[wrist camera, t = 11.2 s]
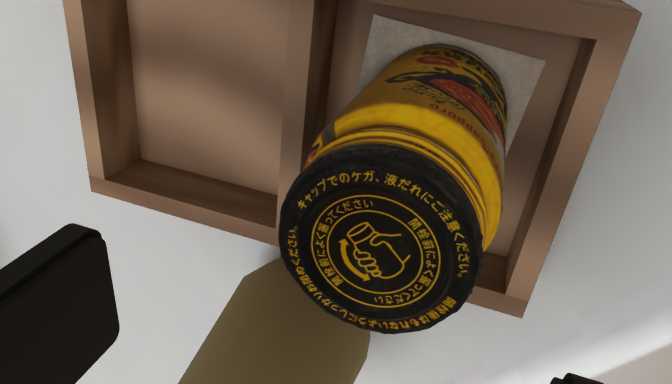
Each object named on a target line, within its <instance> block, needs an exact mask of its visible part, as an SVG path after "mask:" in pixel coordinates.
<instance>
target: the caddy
mask: <svg viewBox="0 0 672 384" xmlns="http://www.w3.org/2000/svg"><path fill="white" fill-rule="evenodd" d="M63 6H64V12H65V19H66V26H67V32H68V39H69V46H70V52H71V59H72V66H73V72H74V79H75V86H76V92H77V99H78V106H79V112H80V119H81V126H82V132H83V139H84V146H85V152H86V159H87V166H88V172H89V179H90V186H91V191H92V192H95V193H99V194H102V195H105V196H109V197H112V198H116V199H119V200H122V201H126V202H129V203H132V204H136V205H139V206H143V207H146V208H149V209H153V210H156V211H160V212H163V213H166V214H170V215H173V216H177V217H180V218H183V219H187V220H190V221H193V222H197V223H200V224H204V225H207V226H210V227H214V228H217V229H221V230H224V231H227V232H231V233H234V234H238V235H241V236H244V237H248V238H251V239H255V240H258V241H261V242H265V243H268V244H271V245H275V246H278V247H280V246H279V242H278V231H279V223H280V211H281V207H282V204H283V202H284V200H285V198H286V194H287V192H288V191H289V189H290V187H291V185H292V183H293V182H294V180H295V179H296V178H297V176H298V175H299V174H300V173H301V172H302V171H304V166H305V163H306V160H307V158H308V155H309V153H310V150H311V147H312V145H313V144H314V142H315V141H316V140H317V136H318V135H319V134H320V133H321V132H322V131H323V130H324V129H325V128H326V127H327V126H328V125H329V124H330V123H331V122H332V121H333V120H334V119H335V118H336V117H337V116H338V115H339V114H340V113H341V112H342V110H344V108H345V107H346V106H348V105H349V104H350V102H351V101H352V100H353V99H354V98H355V95H356V90H357V87H358V82H359V78H360V74H361V69H362V64H363V60H364V56H365V52H366V47H367V42H368V38H369V33H370V29H371V24H372V20H373V15H374V14H375V15H378V16H382V17H386V18H389V19H393V20H397V21H400V22H404V23H407V24H412V25H416V26H420V27H424V28H428V29H431V30H435V31H438V32H442V33H446V34H450V35H453V36H457V37H461V38H465V39H469V40H472V41H476V42H479V43H483V44H487V45H490V46H494V47H497V48H501V49H504V50H508V51H512V52H516V53H518V54H522V55H526V56H529V57H533V58H537V59H540V60H544V61H546V63H545V65H544V67H543V70H542V72H541V74H540V77H539V79H538V81H537V84H536V86H535V88H534V91H533V93H532V96H531V98H530V100H529V103H528V105H527V107H526V110H525V112H524V115H523V117H522V119H521V122H520V124H519V127H518V129H517V131H516V134H515V136H514V138H513V141H512V143H511V146H510V148H509V151H508V153H507V155H506V158H505V169H504V191H503V197H502V198H503V205H502V206H503V211H502V215H501V218H500V223H499V226H498V228H497V231H496V234H495V236H494V238H493V240H492V242H491V244H490V245H489V246H488V248H487V249H486V250H485V251H484V259H483V260H482V265H483V268H482V270H481V273H480V276H479V277H478V278H477V280H476V285H475V287H474V288H473V292H472V294H470V295H469V297H468V299H467V300H466V301H465V302H468V303H471V304H475V305H478V306H482V307H485V308H488V309H492V310H495V311H499V312H502V313H505V314H509V315H512V316H515V317H519V318H522V317H523V314H524V312H525V309H526V307H527V304H528V302H529V299H530V297H531V294H532V292H533V289H534V286H535V284H536V281H537V279H538V276H539V274H540V271H541V269H542V266H543V264H544V261H545V259H546V256H547V254H548V251H549V248H550V246H551V243H552V241H553V238H554V236H555V233H556V231H557V228H558V226H559V223H560V221H561V218H562V215H563V213H564V210H565V208H566V205H567V203H568V200H569V198H570V195H571V193H572V190H573V188H574V185H575V183H576V180H577V177H578V175H579V172H580V170H581V167H582V165H583V162H584V160H585V157H586V155H587V152H588V150H589V147H590V144H591V142H592V139H593V137H594V134H595V132H596V129H597V127H598V124H599V122H600V119H601V117H602V114H603V111H604V109H605V106H606V104H607V101H608V99H609V96H610V94H611V91H612V89H613V86H614V84H615V81H616V79H617V76H618V73H619V71H620V68H621V66H622V63H623V61H624V58H625V56H626V53H627V51H628V48H629V46H630V43H631V40H632V38H633V35H634V33H635V30H636V28H637V25H638V23H639V20H640V18H641V15H642V13H641V12H639V11H638V10H636V9H635V8H633V7H631V6H630V5H628V4H626V3H625V2H623V1H621V0H63Z"/></svg>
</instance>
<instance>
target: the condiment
mask: <svg viewBox="0 0 672 384" xmlns="http://www.w3.org/2000/svg"><path fill="white" fill-rule="evenodd" d="M545 63H546V61H544V60H540V59H537V58H533V57H529V56H526V55H522V54H518V53H516V52H512V51H508V50H504V49H501V48H497V47H494V46H490V45H487V44H483V43H479V42H476V41H472V40H469V39H465V38H461V37H457V36H453V35H450V34H446V33H442V32H438V31H435V30H431V29H428V28H424V27H420V26H416V25H412V24H407V23H404V22H400V21H397V20H393V19H389V18H386V17H382V16H378V15H375V14H374V15H373V20H372V24H371V29H370V33H369V38H368V42H367V47H366V52H365V56H364V60H363V64H362V69H361V74H360V78H359V82H358V87H357V90H356V95H355V98H354V99H353V100H352V101H351V102H350V104H349V105H348V106H346V107H345V108H344V110H342V112H341V113H340V114H339V115H338V116H337V117H336V118H335V119H334V120H333V121H332V122H331V123H330V124H329V125H328V126H327V127H326V128H325V129H324V130H323V131H322V132H321V133H320V134H319V135H318V136H317V140H316V141H315V142H314V144H313V145H312V147H311V150H310V153H309V155H308V158H307V160H306V163H305V166H304V171H302V172H301V173H300V174H299V175H298V176H297V178H296V179H295V180H294V182H293V183H292V185H291V187H290V189H289V191H288V192H287V194H286V198H285V200H284V202H283V204H282V207H281V211H280V223H279V231H278V242H279V246H280V251H281V257H282V259H283V261H284V263H285V266H286V269H287V270H288V271H289V273H290V274H291V276H292V277H293V278H294V280H295V281H296V282H297V283H298V285H299V286H300V287H301V289H302V290H303V291H304V292H305V293H306V294H307V295H308V296H309V297H310V298H311V299H312V300H313V301H314V302H315V303H316V304H317V305H318V306H319V307H320V308H322V309H323V310H324V311H325V312H326V313H328V314H330V315H332V316H334V317H336V318H338V319H340V320H341V321H343V322H346V323H349V324H352V325H354V326H356V327H358V328H360V329H365V330H371V331H375V332H380V333H383V334H397V333H407V332H415V331H421V330H424V329H428V328H431V327H432V326H434V325H435V324H437V323H439V322H440V321H442V320H444V319H445V318H447V317H448V316H450V315H451V314H453V313H455V312H457V311H458V310H459V309H460V308H461V307H462V305H463V304H464V303H465V301H466V300H467V299H468V297H469V295H470V294H472V292H473V288H474V287H475V285H476V280H477V278H478V277H479V276H480V273H481V270H482V268H483V265H482V260H483V259H484V251H485V250H486V249H487V248H488V246H489V245H490V244H491V242H492V240H493V238H494V236H495V234H496V231H497V228H498V226H499V223H500V218H501V215H502V211H503V206H502V205H503V198H502V197H503V191H504V169H505V158H506V155H507V153H508V151H509V148H510V146H511V143H512V141H513V138H514V136H515V134H516V131H517V129H518V127H519V124H520V122H521V119H522V117H523V115H524V112H525V110H526V107H527V105H528V103H529V100H530V98H531V96H532V93H533V91H534V88H535V86H536V84H537V81H538V79H539V77H540V74H541V72H542V70H543V67H544V65H545Z"/></svg>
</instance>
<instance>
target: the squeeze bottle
mask: <svg viewBox="0 0 672 384" xmlns="http://www.w3.org/2000/svg"><path fill="white" fill-rule="evenodd" d="M369 340H370V330H365V329H360V328H358V327H356V326H354V325H352V324H349V323H346V322H343V321H341V320H340V319H338V318H336V317H334V316H332V315H330V314H328V313H326V312H325V311H324V310H323V309H322V308H320V307H319V306H318V305H317V304H316V303H315V302H314V301H313V300H312V299H311V298H310V297H309V296H308V295H307V294H306V293H305V292H304V291H303V290H302V289H301V287H300V286H299V285H298V283H297V282H296V281H295V280H294V278H293V277H292V276H291V274H290V273H289V271H288V270H287V269H286V266H285V263H284V261H283V259H282V257H280V258H278V259H276V260H274V261H272V262H270V263H268V264H266V265H264V266H262V267H261V268H259V269H257V270H255V271H254V272H252V273H250V274H248V275H247V276H245V277H244V278H243V279H242V281H241V282H240V284H239V286H238V287H237V289H236V291H235V292H234V294H233V295H232V297H231V299H230V300H229V302H228V304H227V305H226V307H225V308H224V310H223V312H222V313H221V315H220V317H219V318H218V320H217V321H216V323H215V325H214V326H213V328H212V330H211V331H210V333H209V334H208V336H207V338H206V339H205V341H204V343H203V344H202V346H201V347H200V349H199V351H198V352H197V354H196V355H195V357H194V359H193V360H192V362H191V364H190V365H189V367H188V368H187V370H186V372H185V373H184V375H183V377H182V378H181V380H180V381H179V383H178V384H353V383H354V381H355V379H356V377H357V375H358V373H359V372H360V370H361V368H362V366H363V364H364V362H365V360H366V357H367V352H368V346H369Z"/></svg>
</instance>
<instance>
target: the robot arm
mask: <svg viewBox="0 0 672 384" xmlns="http://www.w3.org/2000/svg"><path fill="white" fill-rule="evenodd" d="M118 334H119V320H118V314H117V308H116V302H115V296H114V290H113V284H112V278H111V272H110V266H109V260H108V253H107V247H106V243H105V241H104V240H103V239H102V237H101V234H100V233H99V232H98V231H97V230H94V229H91V228H87V227H84V226H81V225H77V224H74V223H73V224H68V225H66V226H64V227H62V228H61V229H60V230H58V231H57V232H55V233H54V234H52V235H51V236H49V237H48V238H46V239H45V240H43V241H42V242H40V243H39V244H37V245H36V246H34V247H33V248H31V249H30V250H28V251H27V252H25V253H24V254H23V255H21V256H20V257H18V258H17V259H15V260H14V261H12V262H11V263H9V264H8V265H6V266H5V267H3V268H2V269H0V384H75V383H76V382H77V381H78V380H79V379H80V378H81V377H82V376H83V375H84V374H85V373H86V372H87V370H88V369H89V368H90V367H91V366H92V365H93V364H94V363H95V362H96V361H97V360H98V359H99V358H100V357H101V356H102V355H103V354H104V353H105V352H106V351H107V349H108V348H109V347H110V346H111V345H112V344H113V343H114V342H115V340H116V338H117V336H118ZM550 384H603V383H601V382H598V381H595V380H591V379H588V378H585V377H581V376H578V375H575V374H572V373H567V374H566V375H565V377H564V378H563V379H559V378H556V377H554V378H553V379H552V381H551V383H550Z"/></svg>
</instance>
